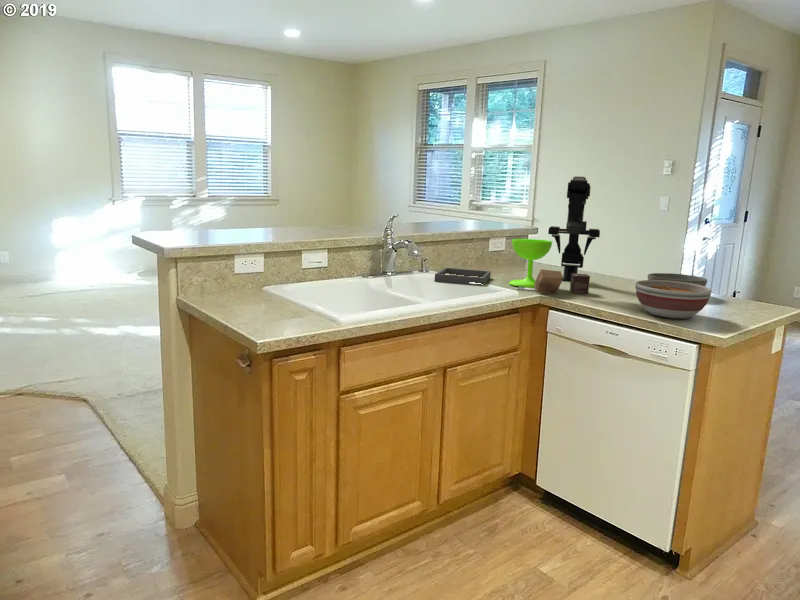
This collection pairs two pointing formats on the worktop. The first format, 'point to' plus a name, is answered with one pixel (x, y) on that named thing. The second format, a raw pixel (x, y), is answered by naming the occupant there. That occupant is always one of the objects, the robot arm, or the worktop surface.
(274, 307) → the worktop surface
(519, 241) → the wineglass
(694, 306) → the bowl
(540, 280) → the base block
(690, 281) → the bowl
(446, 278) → the glass rack frame
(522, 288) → the gray flat panel
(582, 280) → the box
